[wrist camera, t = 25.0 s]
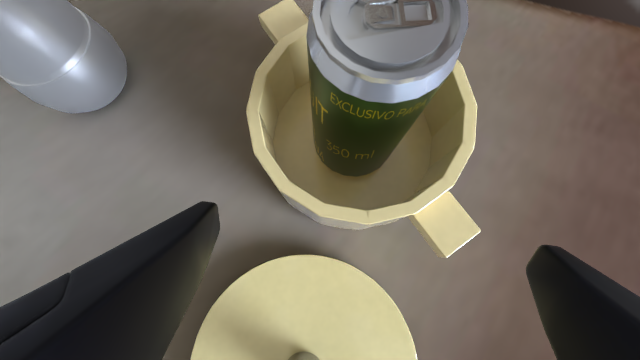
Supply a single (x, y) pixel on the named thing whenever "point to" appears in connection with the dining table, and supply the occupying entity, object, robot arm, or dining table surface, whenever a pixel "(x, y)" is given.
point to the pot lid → (304, 315)
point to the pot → (382, 184)
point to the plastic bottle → (59, 55)
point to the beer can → (376, 73)
